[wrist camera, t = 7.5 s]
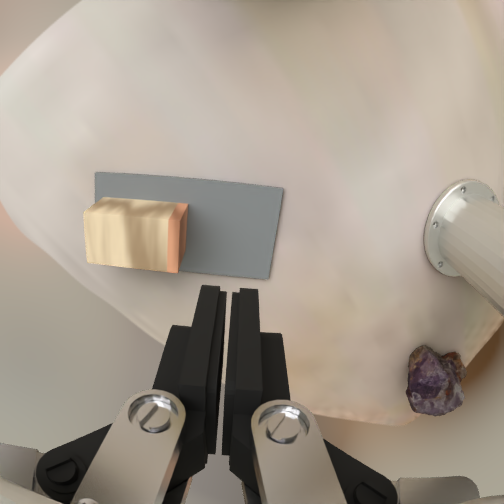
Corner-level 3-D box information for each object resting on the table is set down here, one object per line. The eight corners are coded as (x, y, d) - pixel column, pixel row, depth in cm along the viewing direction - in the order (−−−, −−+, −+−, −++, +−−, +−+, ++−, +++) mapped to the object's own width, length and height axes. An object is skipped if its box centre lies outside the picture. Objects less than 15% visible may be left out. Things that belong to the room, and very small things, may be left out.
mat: (282, 188, 32) (283, 189, 31) (267, 277, 36) (268, 279, 35) (96, 171, 30) (94, 172, 29) (99, 259, 34) (98, 261, 33)
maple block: (179, 220, 27) (83, 212, 26) (177, 273, 29) (87, 262, 28) (188, 203, 31) (103, 197, 30) (185, 250, 33) (105, 241, 33)
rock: (424, 328, 42) (381, 375, 45) (447, 362, 34) (395, 413, 37) (465, 355, 43) (425, 397, 47) (486, 387, 35) (440, 430, 38)
